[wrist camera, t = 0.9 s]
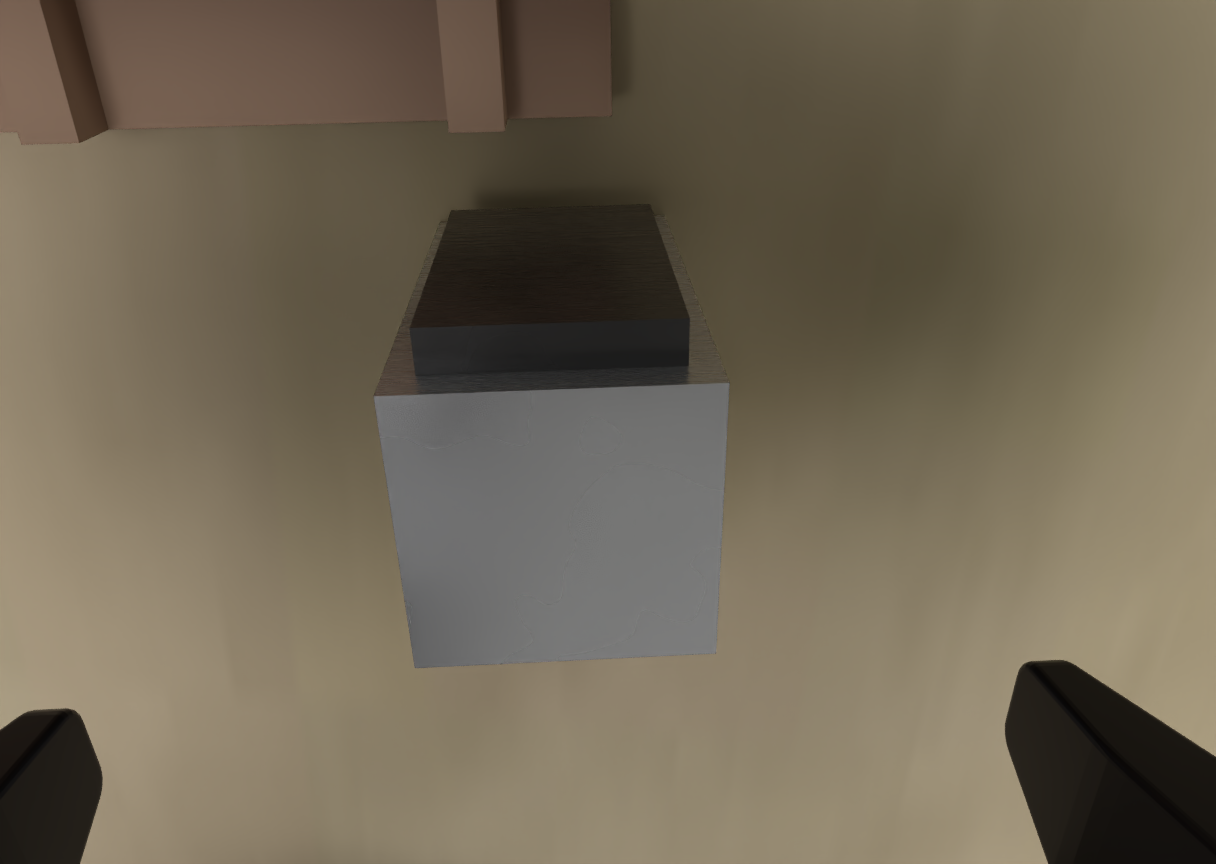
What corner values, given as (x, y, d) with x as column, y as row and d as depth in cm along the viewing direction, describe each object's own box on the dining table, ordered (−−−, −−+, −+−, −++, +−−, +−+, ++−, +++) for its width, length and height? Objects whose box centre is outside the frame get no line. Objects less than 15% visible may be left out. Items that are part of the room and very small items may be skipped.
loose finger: (662, 413, 19) (715, 653, 12) (460, 421, 18) (414, 668, 12) (664, 181, 16) (731, 333, 10) (436, 188, 16) (365, 346, 10)
